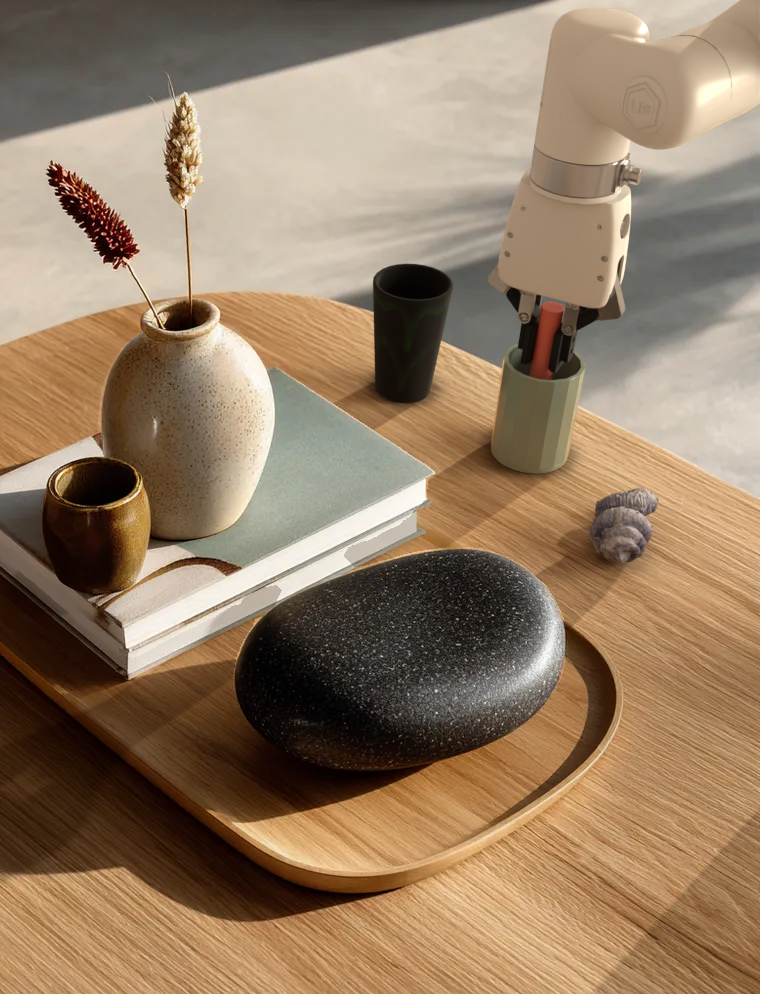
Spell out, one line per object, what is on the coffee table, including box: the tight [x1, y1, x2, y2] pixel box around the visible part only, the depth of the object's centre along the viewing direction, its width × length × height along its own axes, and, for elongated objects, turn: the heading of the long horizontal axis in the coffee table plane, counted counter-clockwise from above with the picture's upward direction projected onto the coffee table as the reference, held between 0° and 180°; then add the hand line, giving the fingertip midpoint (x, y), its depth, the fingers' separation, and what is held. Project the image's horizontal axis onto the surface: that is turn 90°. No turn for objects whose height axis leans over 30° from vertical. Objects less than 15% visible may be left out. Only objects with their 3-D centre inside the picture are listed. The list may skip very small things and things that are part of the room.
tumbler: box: [490, 343, 586, 475], centre depth 123 cm, size 7×7×10 cm
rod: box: [529, 301, 565, 380], centre depth 121 cm, size 2×2×14 cm
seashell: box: [588, 487, 659, 565], centre depth 114 cm, size 5×5×10 cm
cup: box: [372, 263, 454, 404], centre depth 131 cm, size 8×8×12 cm
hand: (543, 360), depth 120 cm, fingers closed on rod, 2 cm apart
